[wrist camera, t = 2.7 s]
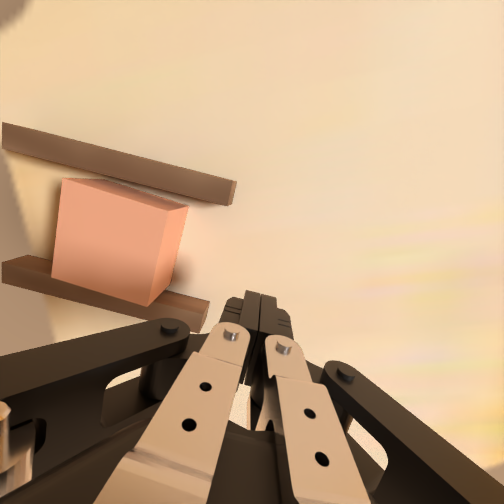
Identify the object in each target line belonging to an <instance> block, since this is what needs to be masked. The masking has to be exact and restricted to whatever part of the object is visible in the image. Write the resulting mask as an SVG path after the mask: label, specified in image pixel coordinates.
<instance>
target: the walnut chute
mask: <svg viewBox="0 0 504 504" xmlns="http://www.w3.org/2000/svg"><path fill="white" fill-rule="evenodd" d="M2 149H6V150H10V151H14V152H18V153H22V154H26V155H30V156H33V157H37V158H41V159H45V160H49V161H53V162H57V163H61V164H65V165H68V166H72V167H76V168H80V169H84V170H88V171H92V172H96V173H100V174H104V175H107V176H111V177H115V178H119V179H123V180H127V181H131V182H135V183H139V184H142V185H146V186H150V187H154V188H158V189H162V190H166V191H170V192H174V193H177V194H181V195H185V196H189V197H193V198H197V199H201V200H205V201H209V202H213V203H216V204H220V205H224V206H229V205H231V204H232V201H233V196H234V192H235V188H236V183H237V182H236V181H233V180H229V179H225V178H221V177H217V176H213V175H209V174H205V173H201V172H197V171H194V170H190V169H186V168H182V167H178V166H174V165H170V164H166V163H162V162H158V161H155V160H151V159H147V158H143V157H139V156H135V155H131V154H127V153H123V152H119V151H116V150H112V149H108V148H104V147H100V146H96V145H92V144H88V143H84V142H81V141H77V140H73V139H69V138H65V137H61V136H57V135H53V134H49V133H45V132H42V131H38V130H34V129H30V128H25V127H21V126H17V125H13V124H8V123H4V122H2ZM52 265H53V261H50V260H46V259H42V258H38V257H34V256H31V255H26V256H23V257H19V258H16V259H12V260H9V261H5V262H2V283H5V284H9V285H13V286H17V287H21V288H25V289H28V290H33V291H36V292H40V293H44V294H48V295H52V296H55V297H59V298H63V299H67V300H71V301H75V302H79V303H82V304H86V305H90V306H94V307H98V308H102V309H106V310H110V311H113V312H117V313H121V314H125V315H129V316H133V317H137V318H141V319H144V320H148V321H151V320H155V319H159V318H174V319H178V320H181V321H183V322H185V323H186V324H187V325H188V326H189V327H190V331H191V332H195V333H200V331H201V328H202V326H203V324H204V322H205V320H206V316H207V312H208V308H209V303H210V302H209V301H205V300H201V299H197V298H193V297H190V296H186V295H182V294H178V293H174V292H170V291H166V290H164V291H163V292H162V293H161V294H160V295H159V296H158V297H157V298H156V299H155V300H154V301H153V302H152V303H151V304H150V305H149V306H148V307H145V306H142V305H139V304H136V303H132V302H129V301H126V300H123V299H119V298H116V297H113V296H110V295H107V294H103V293H100V292H97V291H94V290H90V289H87V288H84V287H81V286H77V285H74V284H71V283H68V282H65V281H61V280H58V279H55V278H52V277H51V274H52Z"/></svg>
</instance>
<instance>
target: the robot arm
mask: <svg viewBox="0 0 504 504" xmlns="http://www.w3.org/2000/svg"><path fill="white" fill-rule="evenodd" d="M141 367H142V368H141ZM138 368H141V374H140V376H139V377H136V378H134V379H131V380H128V381H126V382H123V383H121V384H118V385H116V386H113V387H111V388H108V389H106V387H107V385H108V384H109V383H110V382H111V381H112V380H113V379H114V378H116V377H118V376H120V375H122V374H125V373H128V372H130V371H133V370H136V369H138ZM245 374H246V375H245ZM244 377H245V383H244V385H248V386H251V391H250V394H249V397H248V401H247V429H245V428H243V427H241V426H239V425H237V424H235V423H233V422H232V421H230V420H228V419H229V415H230V411H231V408H232V404H233V400H234V396H235V393H236V392H237V390H238V386H239V383H240V384H243V381H244ZM105 389H106V390H105ZM353 418H354V419H355V420H356V421H357V422H358V423H359V424H360V425H361V426H362V427H363V428H364V429H365V430H366V431H368V432H369V433H370V434H371V435H372V436H373V437H374V438H375V439H376V440H377V441H378V442H379V443H380V444H381V445H382V447H383V448H384V450H385V451H386V454H387V457H388V465H387V468H386V470H385V471H384V470H383V469H382V468H381V467H380V466H379V465H378V464H377V463H376V462H375V461H374V460H373V459H372V458H371V456H370V455H369V454H368V453H367V452H366V451H365V450H364V449H363V448H362V447H361V446H360V445H359V444H358V443H357V442H356V441H355V440H354V439H353V438H352V437H351V436H350V435H349V434H348V433H347V432H348V430H349V427H350V425H351V422H352V420H353ZM0 504H504V486H503V485H502V484H500V483H499V482H498V481H496V480H495V479H494V478H493V477H491V476H490V475H489V474H488V473H486V472H485V471H484V470H483V469H481V468H480V467H479V466H478V465H476V464H475V463H474V462H473V461H471V460H470V459H469V458H467V457H466V456H465V455H464V454H462V453H461V452H460V451H459V450H457V449H456V448H455V447H454V446H452V445H451V444H450V443H449V442H447V441H446V440H445V439H443V438H442V437H441V436H440V435H438V434H437V433H436V432H435V431H433V430H432V429H431V428H430V427H428V426H427V425H426V424H424V423H423V422H422V421H421V420H419V419H418V418H417V417H416V416H414V415H413V414H412V413H411V412H409V411H408V410H407V409H405V408H404V407H403V406H402V405H400V404H399V403H398V402H397V401H395V400H394V399H393V398H392V397H390V396H389V395H388V394H387V393H385V392H384V391H383V390H381V389H380V388H379V387H378V386H376V385H375V384H374V383H373V382H371V381H370V380H369V379H368V378H366V377H365V376H364V375H362V374H361V373H360V372H359V371H357V370H356V369H355V368H353V367H352V366H350V365H348V364H346V363H343V362H340V361H328V362H326V364H325V366H324V368H320V367H318V366H316V365H314V364H312V363H310V362H308V361H307V360H305V357H304V354H303V351H302V349H301V347H300V346H299V345H298V344H297V343H296V342H295V341H294V338H293V332H292V328H291V321H290V316H289V315H288V313H287V312H286V311H285V310H283V309H279V308H277V302H276V297H272V296H268V295H264V294H261V297H260V293H256V292H252V291H248V290H246V292H245V296H244V299H240V298H236V297H232V298H230V299H228V300H227V302H226V305H225V307H224V310H223V313H222V315H221V318H220V321H219V323H218V324H216V325H215V326H214V327H213V328H212V330H211V332H210V333H207V334H190V327H189V326H188V325H187V324H186V323H185V322H183V321H181V320H178V319H174V318H159V319H155V320H151V321H147V322H142V323H138V324H134V325H130V326H126V327H122V328H117V329H113V330H109V331H105V332H101V333H96V334H92V335H88V336H84V337H80V338H75V339H71V340H67V341H63V342H59V343H54V344H50V345H46V346H42V347H38V348H34V349H29V350H25V351H21V352H17V353H13V354H8V355H4V356H0Z"/></svg>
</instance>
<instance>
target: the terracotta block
mask: <svg viewBox="0 0 504 504" xmlns="http://www.w3.org/2000/svg"><path fill="white" fill-rule="evenodd" d="M188 208H189V206H187V205H184V204H181V203H178V202H175V201H171V200H168V199H165V198H162V197H159V196H156V195H152V194H149V193H146V192H143V191H140V190H137V189H133V188H130V187H127V186H124V185H121V184H118V183H114V182H111V181H108V180H105V179H77V178H62V187H61V196H60V204H59V213H58V222H57V230H56V239H55V248H54V257H53V265H52V274H51V277H52V278H55V279H58V280H61V281H65V282H68V283H71V284H74V285H77V286H81V287H84V288H87V289H90V290H94V291H97V292H100V293H103V294H107V295H110V296H113V297H116V298H119V299H123V300H126V301H129V302H132V303H136V304H139V305H142V306H145V307H148V306H149V305H150V304H151V303H152V302H153V301H154V300H155V299H156V298H157V297H158V296H159V295H160V294H161V293H162V292H163V291H164V290H165V289H166V288H167V287H168V286H169V285H170V282H171V278H172V274H173V270H174V266H175V262H176V257H177V253H178V249H179V245H180V241H181V237H182V233H183V228H184V224H185V220H186V216H187V212H188Z"/></svg>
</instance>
